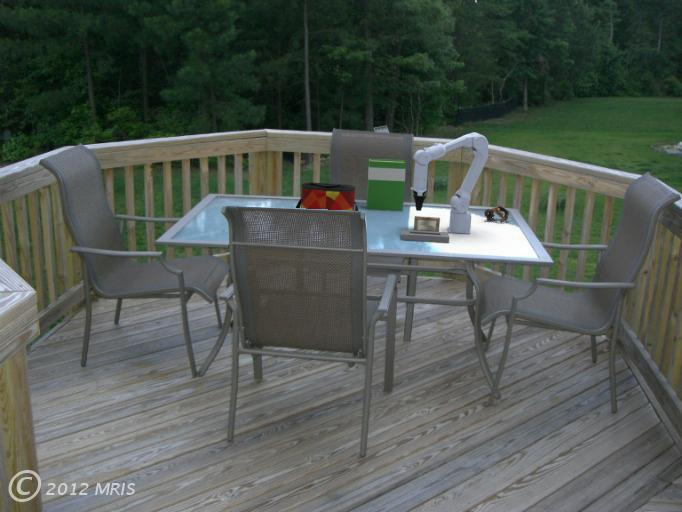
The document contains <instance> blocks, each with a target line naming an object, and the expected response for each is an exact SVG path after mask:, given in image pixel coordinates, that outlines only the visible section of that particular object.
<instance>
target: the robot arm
mask: <svg viewBox="0 0 682 512" xmlns="http://www.w3.org/2000/svg"><path fill="white" fill-rule="evenodd" d="M461 147H467V148H471V149H472V151H473V153H474V154H473V155H474V158H473V160H472V162H471V164H470V167H469V168H468V171H467V173H466V175H465V177H464V179H463V181H462V183H461V186H460V188H459V189H457V191H456V192H455V194H453V195H452V196H451V198H450V200H449V205H450V207H451V209H450V211H449V213H450V214H449V225H448V226H447V232H448V233H452V234H453V233H454V234H471V226H472V225H471V224H472V213H471V212H468V211H469V208H470V202H471V200H472V195H471V194H472V191H473V190H474V189H475V188H474V187H475V185H476V183H477V182H478V179H480V175H481V174H482V171H483V169H484V167H485V165H486V163H487V160H488V158H489V141H488V138H487V137H486V136H484V135H483V134H480V133H478V132H475V131H474V132H473V131H472V132H470V133H467V134H465V135H462V136H460V137H458V138H456V139H453V140H451V141H448V142H447V143H444V144H442V143H440V142H438V143H437V142H435V143H433V145H432V146H429V147H423V149H418V150H417V151H416V152H415V153H414V155H413V161H414V168H413V169H414V170H413V171H414V172H413V173H414V174H413V186H411V187H410V190H412V192H413V194H412V195H413V198H414V199H413V200H414V203H415V204H414V205H415V210H416V211H417V212H418V211H419V212H421V211H422V208H423V205H424V202H425V199H426V198H427V195H425V194H426V192H427V183H428V169H429V168H428V167H429V163H430V162H432V161H434V160H437V159H439V158H442V157H444V156H445V155H446V153H447V152H449V151H452V150H455V149H458V148H461Z"/></svg>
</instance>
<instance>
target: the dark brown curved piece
mask: <svg viewBox="0 0 682 512" xmlns="http://www.w3.org/2000/svg"><path fill="white" fill-rule="evenodd" d="M503 212H504V213H503ZM496 215H497V216H499V218H501V219H500V221H499V223H500V222H503V223H504V222H506V221H507V220H508V219H509V216H510V212H509V211H508V210H507V209H506V208H505V207H503V206H501V205H496V206H495V207H492V208H487V209H485V211H484V216H485V218H486V220H487V219H488V220H487V221H490V220H491V219H492V218H491V217H493V218H494V217H495V216H496Z"/></svg>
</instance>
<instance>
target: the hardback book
mask: <svg viewBox="0 0 682 512" xmlns="http://www.w3.org/2000/svg"><path fill="white" fill-rule="evenodd" d="M406 167H407V162H406V160H405V159H404V160H403V159H386V158H385V159H382V158H369V159H368V170H367V171H368V173H367V174H368V175H367V189H366V206H365V207H366V210H369V211H370V210H371V211H386V210H389V211H390V212H403V210H404V197H405V196H404V195H405V184H406Z"/></svg>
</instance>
